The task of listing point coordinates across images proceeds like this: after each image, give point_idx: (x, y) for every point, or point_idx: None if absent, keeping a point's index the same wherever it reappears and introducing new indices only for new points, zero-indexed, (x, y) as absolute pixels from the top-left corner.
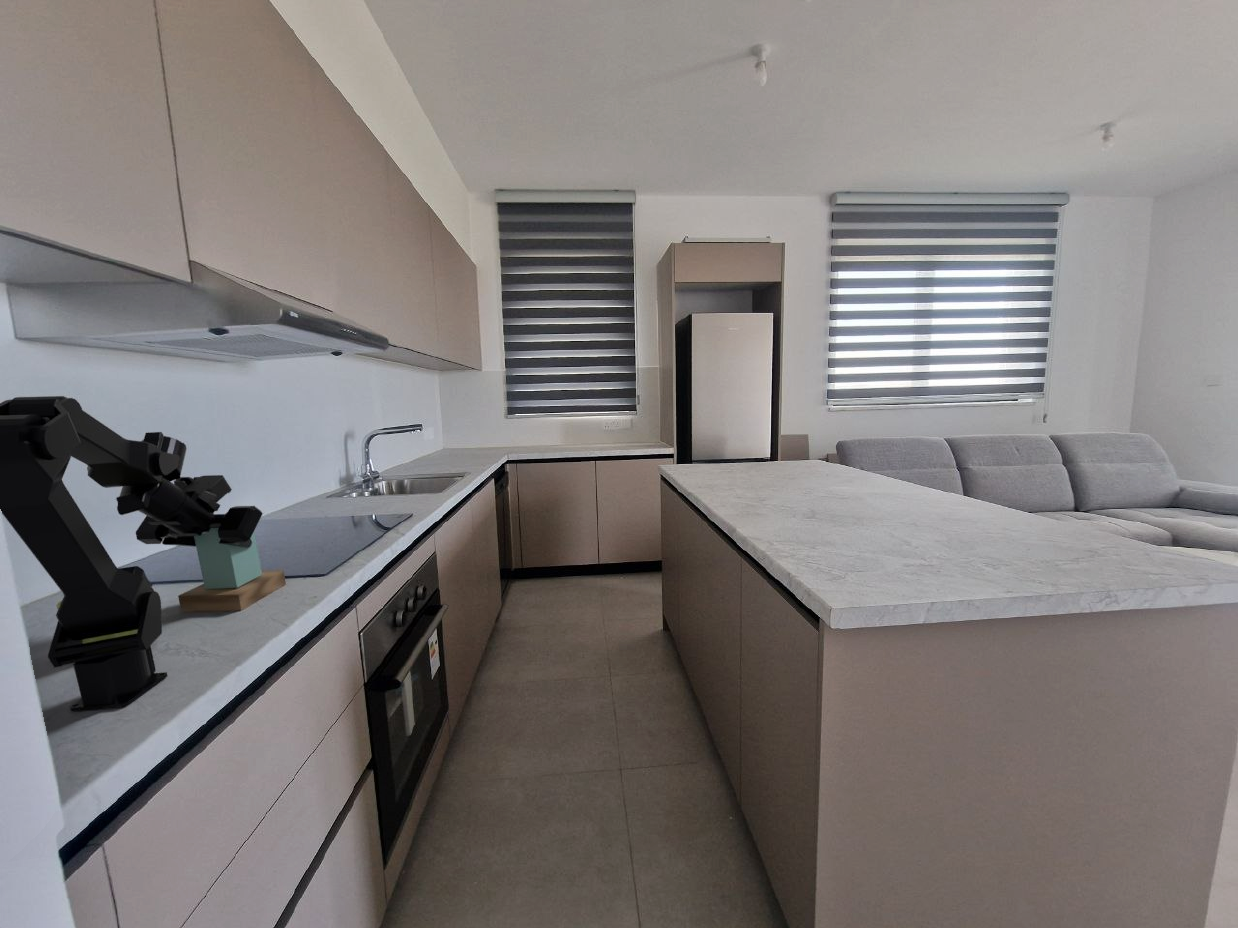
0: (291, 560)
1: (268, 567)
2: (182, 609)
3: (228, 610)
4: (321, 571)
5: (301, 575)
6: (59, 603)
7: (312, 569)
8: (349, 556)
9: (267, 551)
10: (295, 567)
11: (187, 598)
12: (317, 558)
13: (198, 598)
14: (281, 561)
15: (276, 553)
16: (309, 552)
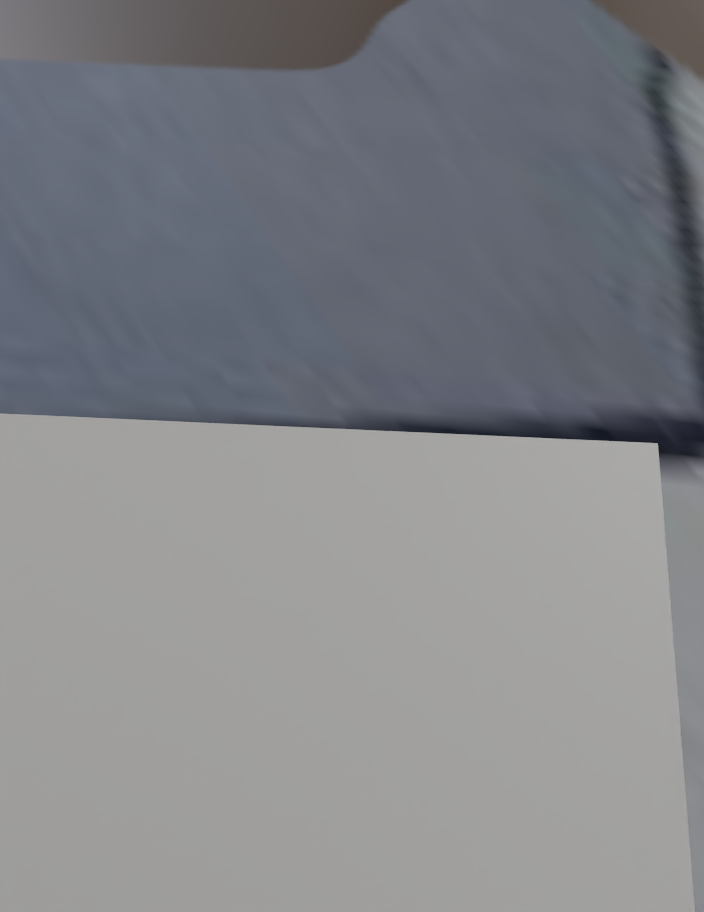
0: (311, 194)
1: (234, 282)
2: None
3: None
4: (641, 374)
5: (545, 426)
6: None
7: (551, 337)
8: (653, 160)
9: (87, 69)
10: (410, 296)
11: None
12: (458, 176)
13: None
14: (258, 203)
15: (155, 96)
16: (344, 92)
